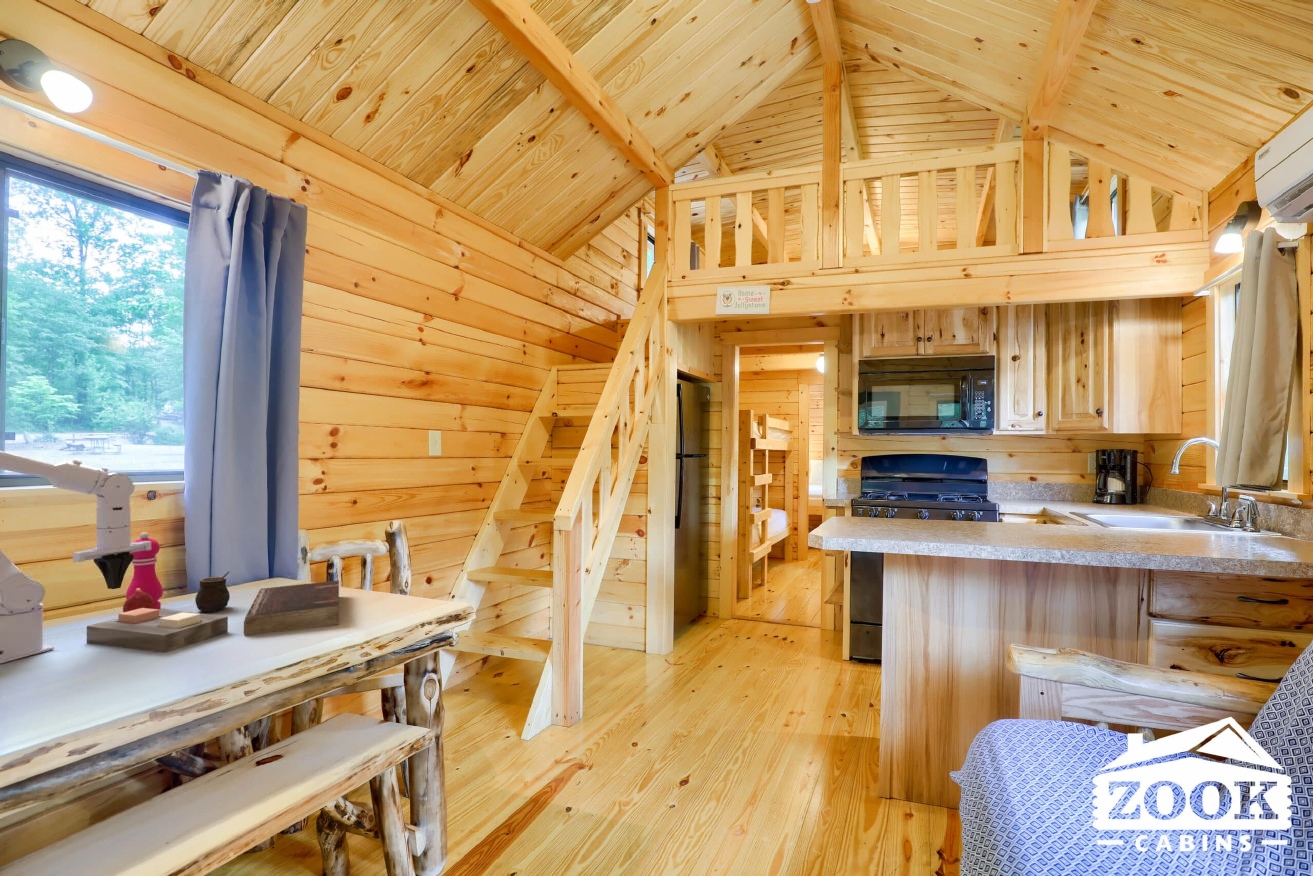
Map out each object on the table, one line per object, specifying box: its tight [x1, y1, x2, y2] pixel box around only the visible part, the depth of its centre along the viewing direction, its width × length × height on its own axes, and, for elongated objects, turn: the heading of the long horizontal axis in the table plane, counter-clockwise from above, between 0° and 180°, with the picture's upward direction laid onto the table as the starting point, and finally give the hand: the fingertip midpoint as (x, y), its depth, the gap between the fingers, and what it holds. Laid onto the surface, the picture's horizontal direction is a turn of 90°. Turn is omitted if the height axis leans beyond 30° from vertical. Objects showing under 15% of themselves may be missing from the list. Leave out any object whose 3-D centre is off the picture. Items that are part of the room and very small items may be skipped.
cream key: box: [159, 611, 201, 629], centre depth 136 cm, size 5×5×3 cm
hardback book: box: [243, 580, 340, 636], centre depth 156 cm, size 29×19×5 cm, turn 27°
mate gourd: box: [195, 570, 231, 613], centre depth 159 cm, size 7×8×10 cm
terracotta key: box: [117, 608, 159, 624], centre depth 139 cm, size 5×5×3 cm
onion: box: [122, 588, 155, 613], centre depth 149 cm, size 6×6×8 cm
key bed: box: [86, 609, 229, 653], centre depth 138 cm, size 14×22×4 cm, turn 75°
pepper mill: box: [125, 531, 164, 610], centre depth 157 cm, size 7×7×20 cm
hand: (114, 588), depth 139 cm, fingers closed
